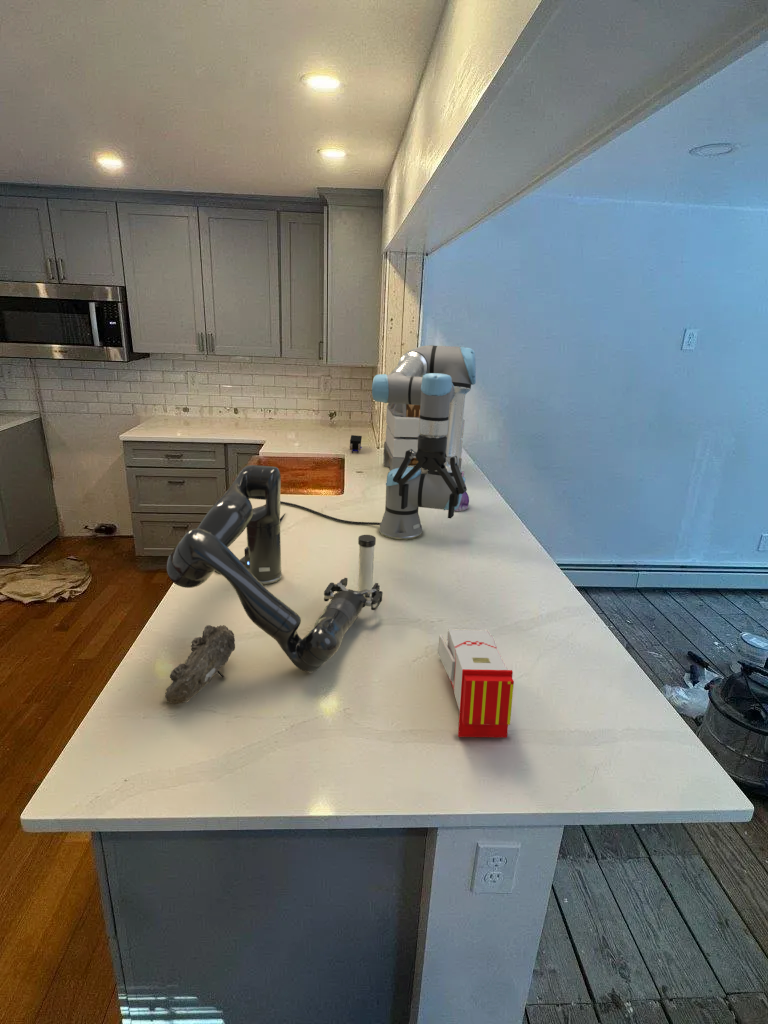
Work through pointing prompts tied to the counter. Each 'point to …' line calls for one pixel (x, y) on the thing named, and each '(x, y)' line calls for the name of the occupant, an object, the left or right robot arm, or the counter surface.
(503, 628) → the counter surface
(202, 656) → the fossil
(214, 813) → the counter surface
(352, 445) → the figurine character
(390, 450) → the white storage crate
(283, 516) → the feather
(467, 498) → the figurine
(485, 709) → the toy
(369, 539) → the lid
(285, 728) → the counter surface
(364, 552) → the bottle
